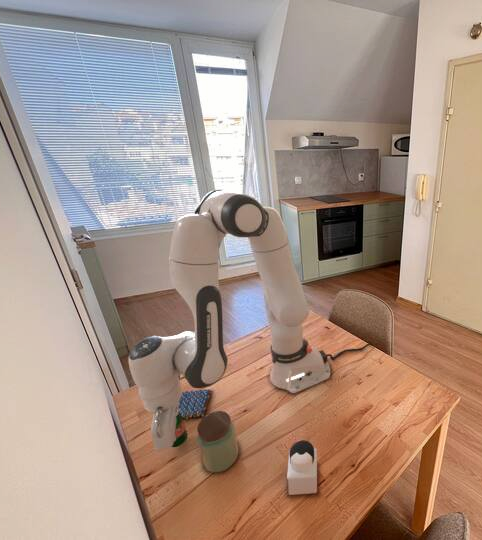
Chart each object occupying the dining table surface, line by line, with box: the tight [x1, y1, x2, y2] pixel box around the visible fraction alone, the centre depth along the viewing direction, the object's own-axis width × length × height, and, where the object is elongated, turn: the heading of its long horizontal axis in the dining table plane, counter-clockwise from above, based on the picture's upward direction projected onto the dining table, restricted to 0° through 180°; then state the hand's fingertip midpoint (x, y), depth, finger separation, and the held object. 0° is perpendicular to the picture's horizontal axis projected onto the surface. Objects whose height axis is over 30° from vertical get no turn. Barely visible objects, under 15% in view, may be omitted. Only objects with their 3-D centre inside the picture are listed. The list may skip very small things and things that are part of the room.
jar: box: [196, 410, 239, 473], centre depth 79 cm, size 9×9×13 cm
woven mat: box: [178, 388, 212, 420], centre depth 96 cm, size 10×11×2 cm
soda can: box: [171, 406, 189, 448], centre depth 82 cm, size 5×5×12 cm
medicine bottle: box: [286, 439, 318, 496], centre depth 74 cm, size 7×7×12 cm
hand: (174, 429), depth 82 cm, fingers closed on soda can, 5 cm apart
